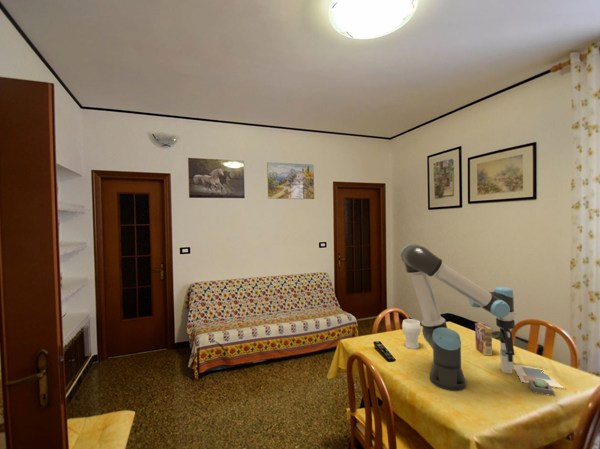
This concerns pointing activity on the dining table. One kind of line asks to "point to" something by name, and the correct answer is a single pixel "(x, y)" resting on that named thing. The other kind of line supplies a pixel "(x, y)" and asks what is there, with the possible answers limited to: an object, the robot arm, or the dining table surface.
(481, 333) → the candy box
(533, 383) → the button housing
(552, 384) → the picture card
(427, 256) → the robot arm
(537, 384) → the button
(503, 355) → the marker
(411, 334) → the cup
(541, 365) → the dining table surface
